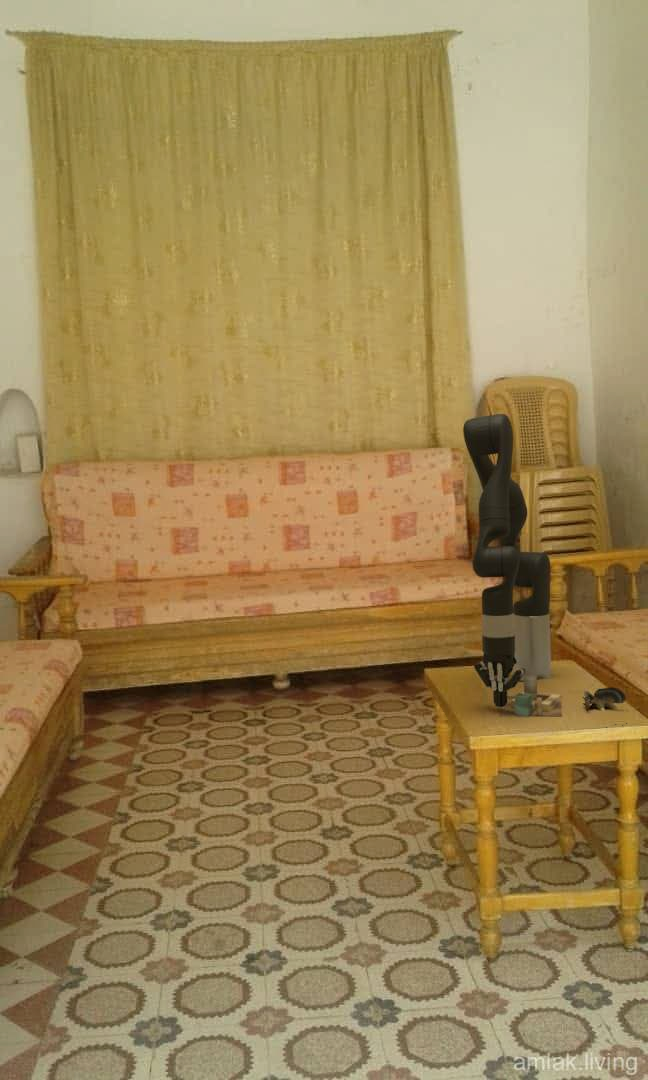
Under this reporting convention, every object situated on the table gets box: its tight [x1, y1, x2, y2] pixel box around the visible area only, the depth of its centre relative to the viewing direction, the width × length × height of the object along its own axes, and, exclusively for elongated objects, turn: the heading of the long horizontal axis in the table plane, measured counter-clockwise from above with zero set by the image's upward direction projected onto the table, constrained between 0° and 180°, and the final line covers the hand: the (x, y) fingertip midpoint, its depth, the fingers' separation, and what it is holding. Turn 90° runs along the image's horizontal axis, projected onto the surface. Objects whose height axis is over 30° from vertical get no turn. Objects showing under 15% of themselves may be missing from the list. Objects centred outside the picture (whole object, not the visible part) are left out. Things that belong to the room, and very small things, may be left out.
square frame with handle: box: [511, 691, 562, 718], centre depth 244 cm, size 14×9×4 cm, turn 148°
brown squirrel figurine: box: [581, 686, 627, 712], centre depth 241 cm, size 8×7×9 cm
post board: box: [498, 675, 563, 718], centre depth 246 cm, size 17×14×8 cm
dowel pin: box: [537, 698, 542, 716], centre depth 238 cm, size 1×1×4 cm
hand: (500, 705), depth 244 cm, fingers closed
